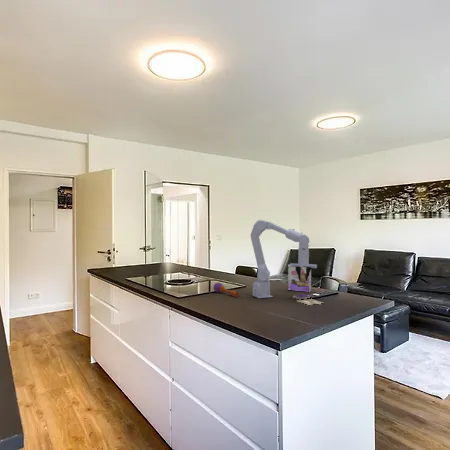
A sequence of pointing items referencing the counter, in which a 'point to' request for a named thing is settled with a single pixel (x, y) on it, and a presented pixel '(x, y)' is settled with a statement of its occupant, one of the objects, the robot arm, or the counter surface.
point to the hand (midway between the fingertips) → (303, 280)
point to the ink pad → (301, 296)
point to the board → (309, 301)
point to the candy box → (297, 279)
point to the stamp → (303, 280)
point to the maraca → (220, 288)
